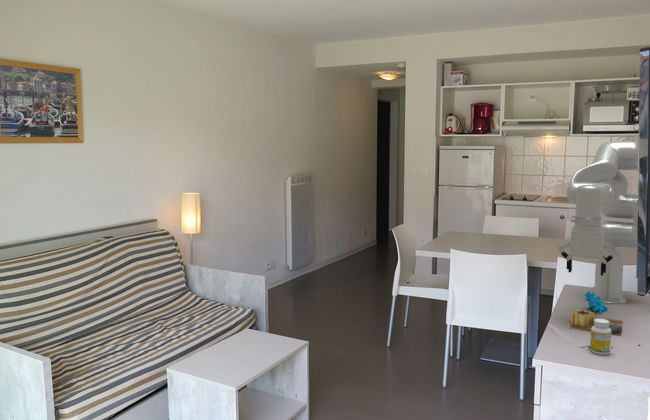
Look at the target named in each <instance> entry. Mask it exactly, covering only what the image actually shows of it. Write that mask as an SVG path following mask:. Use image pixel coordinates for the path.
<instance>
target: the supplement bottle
mask: <svg viewBox="0 0 650 420" xmlns="http://www.w3.org/2000/svg"><path fill="white" fill-rule="evenodd" d="M594 325H595V326H593V327H592V328H591V332H590V346H589V347H590V348H589V349H590V352H592V353H593V354H596V355H601V356H605V355H606V356H607V355H610V354H611V349H612V347H611V345H612V335H611V329H610V328H609V321H608V320H605V319H594Z"/></svg>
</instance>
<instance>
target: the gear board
mask: <svg viewBox="0 0 650 420" xmlns="http://www.w3.org/2000/svg"><path fill="white" fill-rule="evenodd" d="M583 315H586V314H583ZM595 319H605V320H608V321H609V328H610V329H611V336H616V337H622V333H623V325H624V320H622V319H621V320H619V319H612V318H604V317H596V316H595ZM568 329H569V330H575V331H582V332H590V333H591V327H590V328H581V327H576V326H575V325H572V324H571V323H570V326H569V328H568Z"/></svg>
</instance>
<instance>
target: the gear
mask: <svg viewBox="0 0 650 420" xmlns="http://www.w3.org/2000/svg"><path fill="white" fill-rule="evenodd" d="M584 296H585V301H586V302H588V303H587V304H588V308H587V310H589V311H591V310H593V311H594V313H595V312H597V314H598V315H603V314H605V313H606V312H608V310H609V309H608V306H606V304H605V301H604V300H603V301H600V300H599V299H601V298H600V297H599V296H597V297H595V293H594V292H591V291H587V292H586V293H585V294H584Z"/></svg>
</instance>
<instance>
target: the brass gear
mask: <svg viewBox="0 0 650 420" xmlns="http://www.w3.org/2000/svg"><path fill="white" fill-rule="evenodd" d="M583 314H586V315H583ZM595 317H596V313H595V311H594V312H592V311H591V310H586V309H573V310H570V325H571V324H572V325H575V326H576V327H581V328H590V327H591V328H592V327H593V326H595V325H594V319H595Z"/></svg>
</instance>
